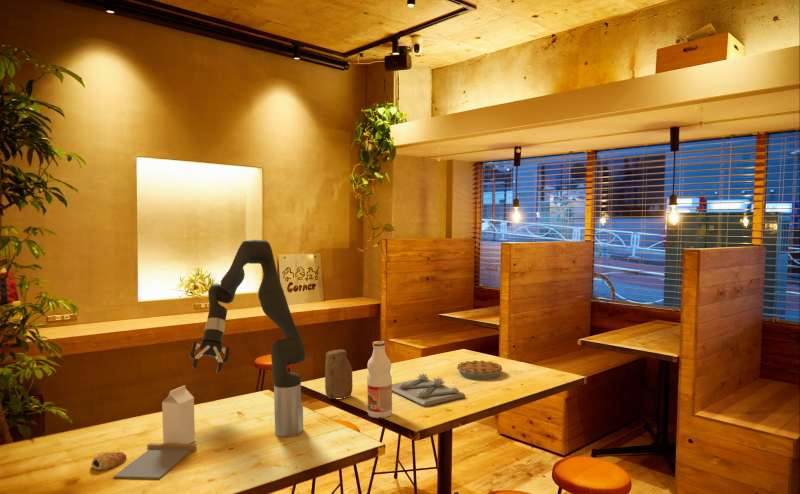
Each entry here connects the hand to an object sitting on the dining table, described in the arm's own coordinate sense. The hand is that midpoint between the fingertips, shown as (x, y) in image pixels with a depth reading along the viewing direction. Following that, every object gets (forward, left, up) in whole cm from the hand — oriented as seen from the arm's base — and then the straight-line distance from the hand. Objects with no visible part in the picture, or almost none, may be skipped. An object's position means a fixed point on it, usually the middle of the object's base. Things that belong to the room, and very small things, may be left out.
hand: (206, 371), depth 212 cm
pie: (-108, -63, -18) cm, 126 cm away
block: (-47, -24, -17) cm, 55 cm away
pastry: (+11, +45, -18) cm, 50 cm away
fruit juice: (-67, -4, -17) cm, 69 cm away
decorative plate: (-83, -31, -18) cm, 90 cm away
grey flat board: (-3, +44, -17) cm, 47 cm away
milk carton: (-3, +28, -17) cm, 33 cm away
